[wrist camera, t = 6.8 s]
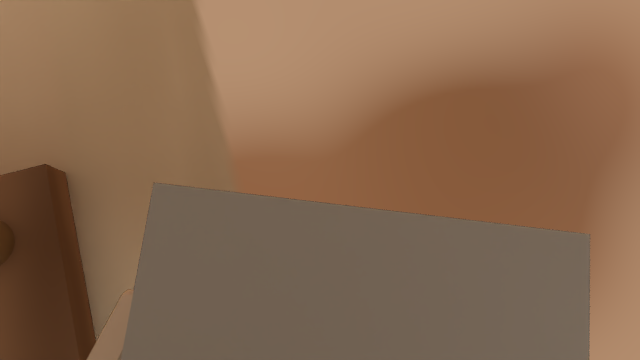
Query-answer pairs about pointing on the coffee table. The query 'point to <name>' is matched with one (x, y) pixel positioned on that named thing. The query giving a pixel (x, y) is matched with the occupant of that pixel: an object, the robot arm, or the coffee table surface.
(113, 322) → the robot arm
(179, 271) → the slate block
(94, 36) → the coffee table surface
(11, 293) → the stand
